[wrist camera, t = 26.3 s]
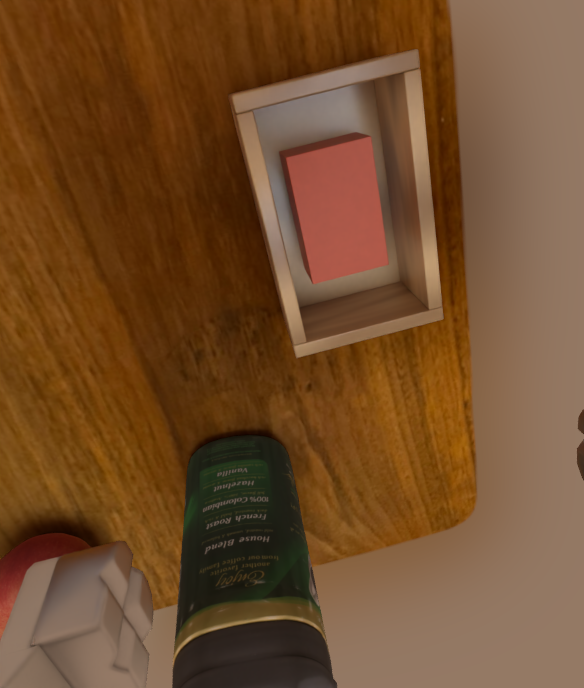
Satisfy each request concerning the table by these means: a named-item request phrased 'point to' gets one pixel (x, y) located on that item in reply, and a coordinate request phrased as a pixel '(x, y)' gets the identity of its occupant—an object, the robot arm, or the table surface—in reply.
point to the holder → (394, 190)
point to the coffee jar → (246, 575)
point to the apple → (8, 573)
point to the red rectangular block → (336, 206)
